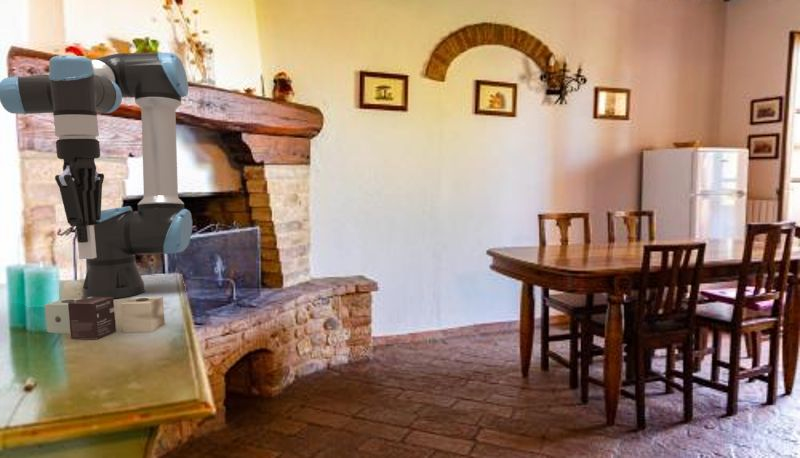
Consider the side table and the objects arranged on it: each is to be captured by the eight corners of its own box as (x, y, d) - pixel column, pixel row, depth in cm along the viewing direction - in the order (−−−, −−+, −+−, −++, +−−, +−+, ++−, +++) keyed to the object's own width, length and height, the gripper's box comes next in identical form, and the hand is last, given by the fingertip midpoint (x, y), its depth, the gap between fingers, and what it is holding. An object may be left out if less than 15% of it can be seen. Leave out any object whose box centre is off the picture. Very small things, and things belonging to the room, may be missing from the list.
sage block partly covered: (69, 325, 130) (66, 297, 130) (92, 326, 129) (90, 297, 128) (46, 333, 124) (43, 303, 124) (71, 334, 123) (68, 304, 122)
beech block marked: (137, 324, 129) (135, 296, 128) (164, 324, 128) (162, 295, 128) (123, 332, 123) (120, 302, 122) (151, 332, 123) (149, 302, 122)
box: (96, 340, 118) (93, 303, 117) (69, 339, 119) (66, 302, 118) (117, 331, 124) (114, 296, 123) (91, 331, 125) (88, 296, 124)
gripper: (78, 140, 124) (88, 253, 126) (37, 137, 111) (49, 264, 114) (113, 139, 123) (123, 252, 126) (76, 136, 111) (87, 263, 113)
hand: (87, 258), depth 120 cm, fingers closed
